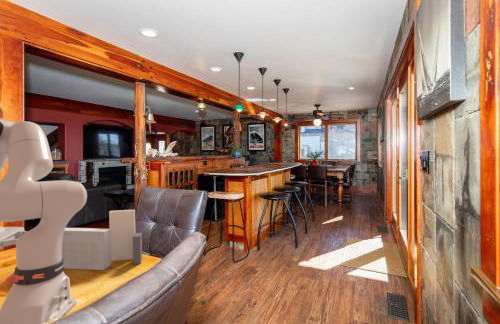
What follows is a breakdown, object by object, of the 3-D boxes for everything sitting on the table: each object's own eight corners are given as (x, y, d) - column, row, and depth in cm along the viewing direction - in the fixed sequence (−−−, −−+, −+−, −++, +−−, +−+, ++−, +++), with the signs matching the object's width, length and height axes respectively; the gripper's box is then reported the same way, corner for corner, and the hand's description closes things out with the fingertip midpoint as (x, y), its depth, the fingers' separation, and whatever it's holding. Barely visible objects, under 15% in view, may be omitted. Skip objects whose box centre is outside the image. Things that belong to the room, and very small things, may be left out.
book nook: (140, 263, 118) (139, 213, 117) (106, 267, 115) (105, 214, 114) (142, 257, 126) (142, 209, 125) (110, 260, 122) (109, 210, 121)
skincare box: (112, 265, 117) (111, 228, 116) (104, 270, 111) (103, 231, 111) (66, 263, 119) (65, 226, 118) (56, 268, 113) (55, 230, 113)
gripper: (-38, 240, 96) (10, 237, 99) (-1, 224, 115) (37, 223, 119) (-37, 258, 96) (10, 255, 100) (-1, 239, 116) (38, 237, 119)
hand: (25, 237), depth 109 cm, fingers open, 8 cm apart
